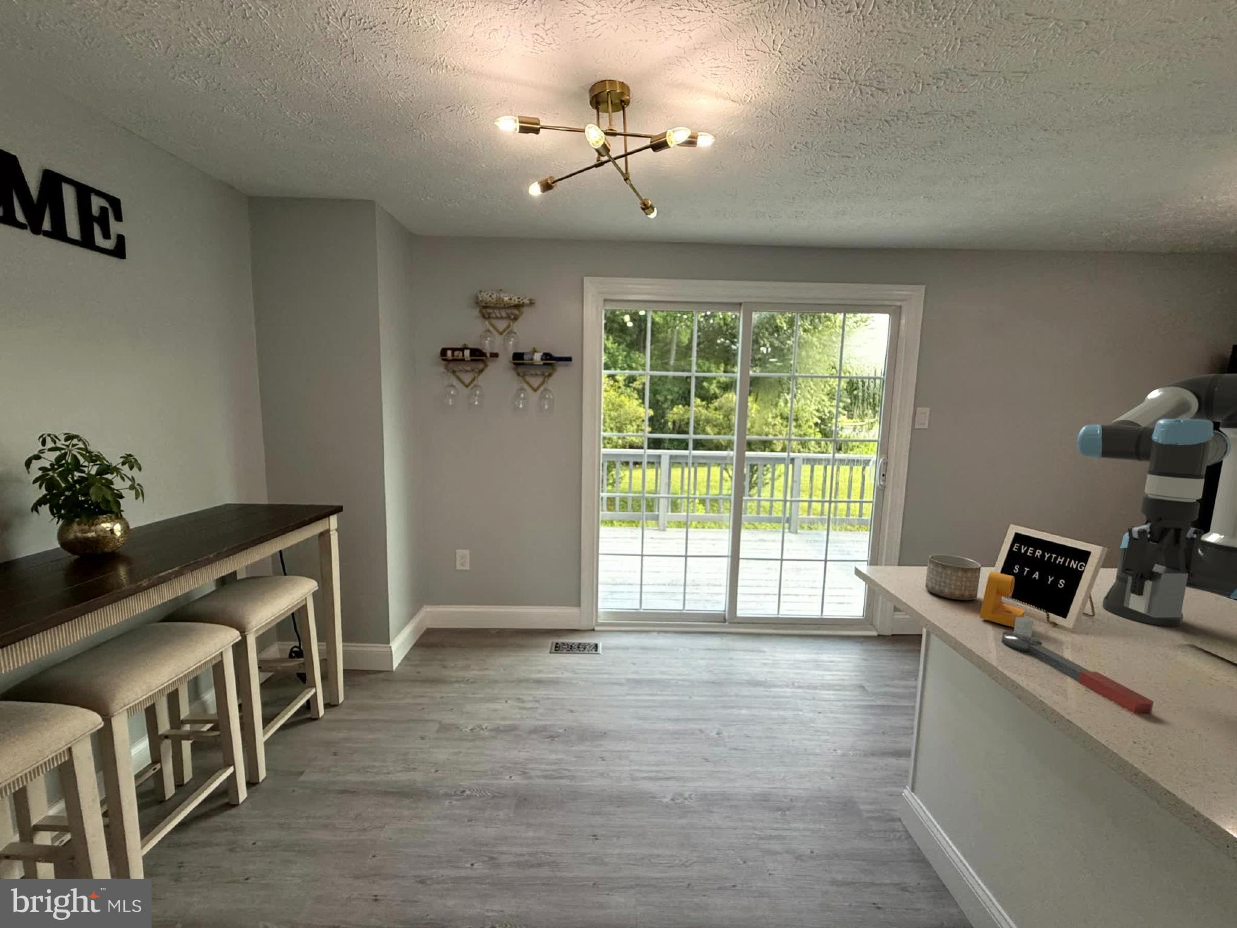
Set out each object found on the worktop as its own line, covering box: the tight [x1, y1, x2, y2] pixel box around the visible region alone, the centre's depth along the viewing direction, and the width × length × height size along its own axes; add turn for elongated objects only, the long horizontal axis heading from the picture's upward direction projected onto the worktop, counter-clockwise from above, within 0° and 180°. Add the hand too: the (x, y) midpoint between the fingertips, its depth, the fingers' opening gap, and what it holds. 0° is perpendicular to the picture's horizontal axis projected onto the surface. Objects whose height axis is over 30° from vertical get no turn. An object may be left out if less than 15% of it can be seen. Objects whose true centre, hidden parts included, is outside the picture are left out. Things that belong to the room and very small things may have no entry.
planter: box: [924, 553, 982, 601], centre depth 144 cm, size 13×13×10 cm
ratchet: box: [1001, 616, 1154, 715], centre depth 103 cm, size 28×7×6 cm, turn 4°
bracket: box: [979, 571, 1026, 628], centre depth 127 cm, size 11×7×12 cm, turn 131°
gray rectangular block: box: [1124, 564, 1188, 618], centre depth 100 cm, size 6×6×9 cm
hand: (1152, 610), depth 100 cm, fingers closed on gray rectangular block, 6 cm apart
